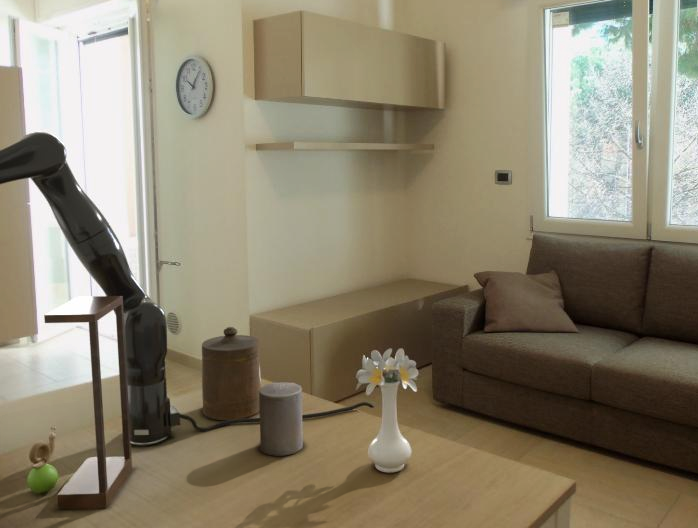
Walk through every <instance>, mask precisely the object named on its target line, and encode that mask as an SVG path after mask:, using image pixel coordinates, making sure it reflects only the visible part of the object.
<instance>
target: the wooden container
mask: <svg viewBox="0 0 698 528" xmlns="http://www.w3.org/2000/svg"><path fill="white" fill-rule="evenodd" d="M260 346H261V345H260V339H258V338H257V337H255V336H252V335H247V334H246V335H245V334H238V330H237V328H235V327H234V326H228V327H226V328H225V329H223V335H220V336H219V335H218V336H215V337H211V338H208V339H206V340H204V341H203V342H202V343H201V393H202V395H201V396H202V412H203V415H205V417H207V418H209V419H212V420H218V421H227V420H233V419H245V418H251V417H253V416H254V415H257V414H258V413H259V411H260V410H259V390H260V388H261V387H262V381H261V380H262V379H261V363H260V360H261V359H260V353H261V351H260V349H261V347H260Z"/></svg>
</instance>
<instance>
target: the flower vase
mask: <svg viewBox="0 0 698 528" xmlns="http://www.w3.org/2000/svg"><path fill="white" fill-rule="evenodd" d="M392 352H393V348H388V349H387V350H385V351H384V353H383V354H382V355H381V353H380V352H379V351H378V350H376V349H373V350H372V351H371V352H370V357H371V358H369V357H367V358H366V355H365V354H363V355H362V361H361V362H362V363H361V364H362V366H361V368H362V369H359V370H358V371H357V372H356V375H355V379H356V380H358V382H357V385H356V387H355V391H357V390H358V389H359V388H360V387H361V386H362V385H363V384H368V385H367V386H366V389H365V394H366V396H370V395H371V394H372V392H373V391H374V389H375V388H376V387H377V386H379V387H380V391H381V399H382V401H381V402H382V403H381V404H382V405H381V407H382V408H381V424H380V429H379V431H378V433H377V435H376V436H375V437H374V438H372V440H371V442H370V443H369V445H368V448H367V456H368V458H369V459H370V461H371V462H372V463H373V464H374V466H375V468H376V470H378V471H380V472H381V473H388V474H393V473H397V472H400V471H402V470H403V469H404V467H405V464H406V463H407V462H408V461H409V460H410V459H411V457H412V452H413V451H412V447H411V444H410V443H409V441H408V440H407V438H405V437H404V436H403V435H402V432H401V431H400V428H399V424H398V413H397V411H398V409H397V398H398V397H397V396H398V390H399V386H400V384H401V385H402V388H403V389H405V390H406V389H407V388H408V387H409V388H410V389H411V390H412V391H413V392H415V393H417V392H418V387H417V384H416V383H415V381H418V376H419V373H420V372H419V370H418V369H417V367H416V366H417V362H416V361H415V360H413V359H410V358H409V356H408V355H405V351H404V348H398V349H397V351H396V353H395V356H394V358H393V357H392V356H391V354H392ZM384 374H385V376H383V375H384Z"/></svg>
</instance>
